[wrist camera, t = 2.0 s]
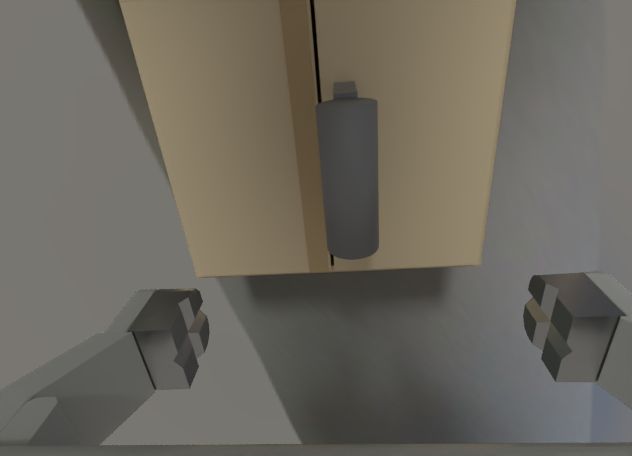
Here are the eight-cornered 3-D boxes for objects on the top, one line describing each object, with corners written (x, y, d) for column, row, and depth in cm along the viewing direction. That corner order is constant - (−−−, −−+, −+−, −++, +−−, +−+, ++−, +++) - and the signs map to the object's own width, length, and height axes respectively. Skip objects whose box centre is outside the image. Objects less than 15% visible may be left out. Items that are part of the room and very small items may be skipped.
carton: (179, 0, 25) (110, -8, 17) (467, -30, 23) (529, -53, 16) (227, 221, 32) (194, 283, 25) (447, 209, 31) (483, 270, 23)
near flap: (311, -17, 17) (301, -33, 12) (514, -39, 16) (596, -65, 11) (333, 268, 24) (333, 335, 19) (475, 261, 24) (515, 330, 18)
